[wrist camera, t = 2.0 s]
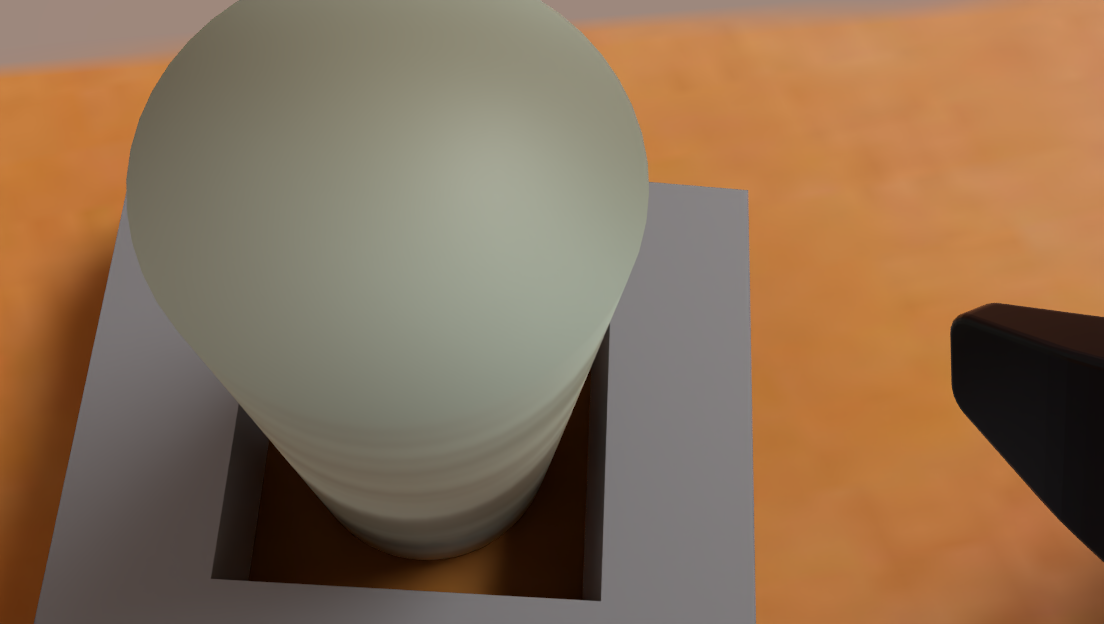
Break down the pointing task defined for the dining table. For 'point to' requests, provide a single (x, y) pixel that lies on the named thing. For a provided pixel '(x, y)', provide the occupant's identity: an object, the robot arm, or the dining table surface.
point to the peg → (394, 244)
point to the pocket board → (423, 616)
